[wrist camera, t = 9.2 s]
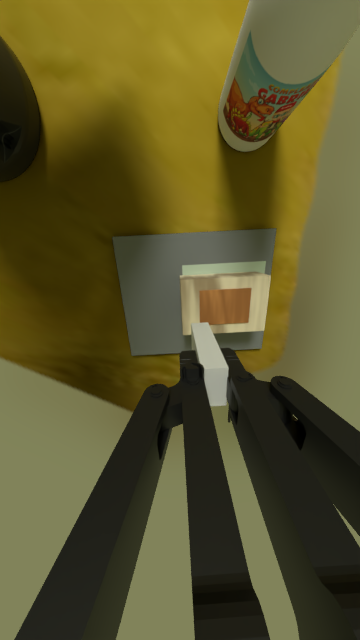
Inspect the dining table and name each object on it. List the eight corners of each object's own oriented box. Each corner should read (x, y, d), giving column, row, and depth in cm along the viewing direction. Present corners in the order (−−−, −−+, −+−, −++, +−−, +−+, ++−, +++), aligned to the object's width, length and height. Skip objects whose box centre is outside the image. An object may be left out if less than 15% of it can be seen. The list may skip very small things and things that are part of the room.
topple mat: (132, 353, 35) (131, 355, 34) (113, 237, 27) (112, 236, 27) (259, 346, 35) (261, 348, 34) (273, 228, 28) (276, 228, 27)
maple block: (183, 335, 27) (264, 331, 27) (180, 280, 24) (271, 275, 24) (181, 322, 32) (251, 318, 32) (179, 275, 29) (255, 271, 29)
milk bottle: (205, 99, 22) (366, -687, 4) (265, 54, 21) (978, -1489, 2) (232, 167, 25) (407, -89, 6) (286, 130, 24) (720, -334, 5)
